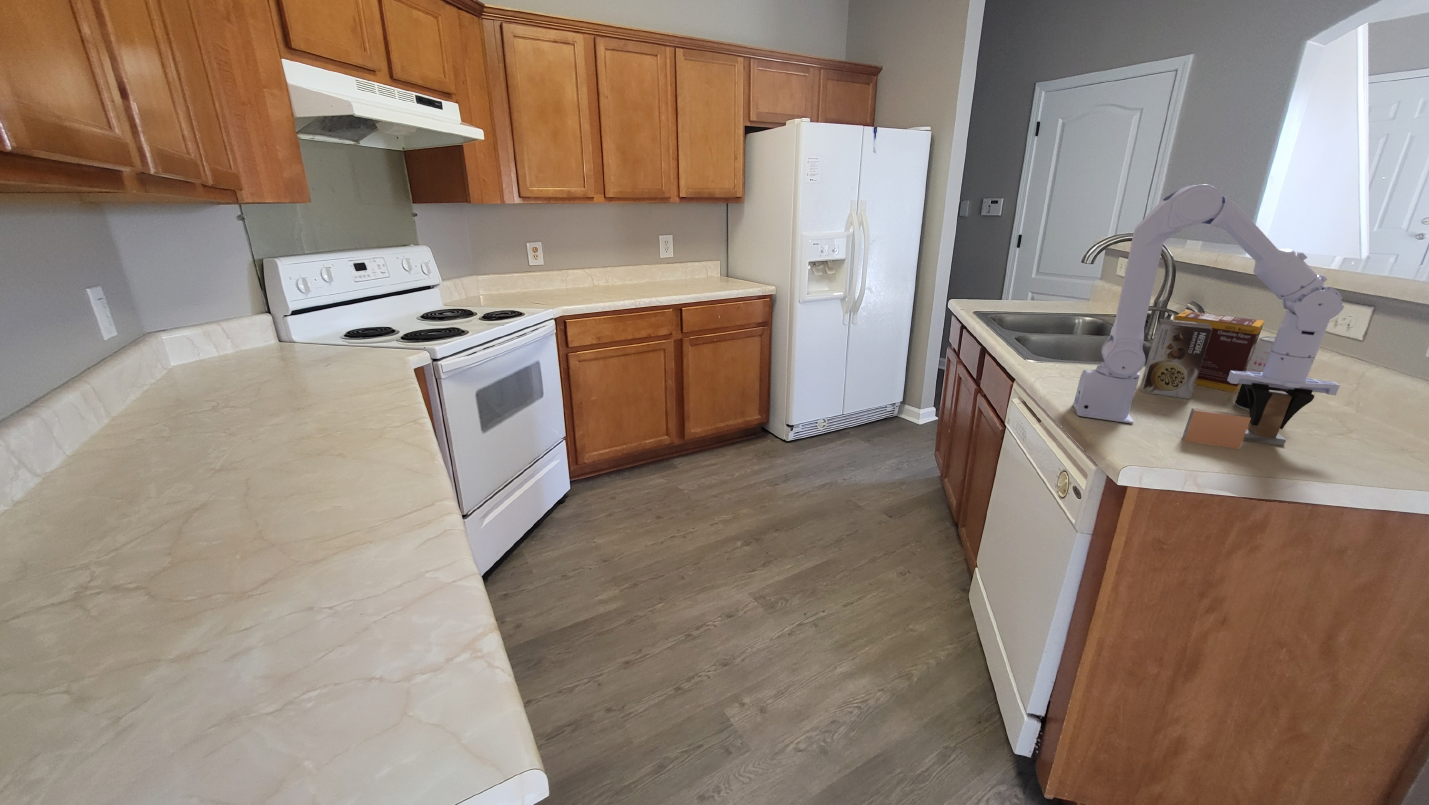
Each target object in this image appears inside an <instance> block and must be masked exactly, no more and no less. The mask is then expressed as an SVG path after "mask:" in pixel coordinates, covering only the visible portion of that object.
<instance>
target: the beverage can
mask: <svg viewBox="0 0 1429 805" xmlns="http://www.w3.org/2000/svg"><path fill="white" fill-rule="evenodd" d="M1275 338H1276V336H1272V335H1262V336H1259V338H1258V340H1257V342H1256V345H1255V348H1254V351H1253V354H1252V356H1251V359H1250V362H1249V364H1248V367H1247V370H1246V372H1263V370H1264V367H1265V364H1266V362H1267V359H1268V356H1269V354H1270V351H1271V348H1272V346H1273V343H1274V340H1275ZM1268 389H1270V390H1274V391H1282V392H1283V388H1276V387H1268ZM1234 404H1235V405H1236V406H1237V407H1238V408H1240V409H1242V410H1245V411H1248V412H1249V401H1248V395H1247V392H1246V388H1245V384H1241V385H1240V387H1239V389H1238V392H1237V395H1236V399H1235V401H1234Z"/></svg>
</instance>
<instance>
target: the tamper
mask: <svg viewBox="0 0 1429 805" xmlns="http://www.w3.org/2000/svg"><path fill="white" fill-rule="evenodd" d="M1269 391H1270V392H1271V393H1272V394H1273V395H1272V396H1271V398H1270V399H1269V401H1268V402H1267V404H1266V406H1265V408H1264V410H1263V413H1262V416H1261V419H1260V421H1259V423H1258V425H1257V426H1256V425H1252V424H1251V423H1249V425H1248V428H1247V430H1246V433H1245V436H1244V438H1243V441H1249V442H1255V443H1262V444H1269V445H1276V446H1283V447H1284V446H1285V444H1286V442H1287V438H1285V437H1284V436H1282V435H1281V434H1280V433H1279V430H1281V429H1280V426H1281V424H1282V421H1283V419H1284V416H1285V414H1286V411H1287V408H1288V406H1289V403H1290V401H1291V398H1292V396H1290V395H1289V394H1287V393H1286V392H1282V391H1274V390H1269Z"/></svg>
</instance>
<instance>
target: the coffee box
mask: <svg viewBox="0 0 1429 805" xmlns="http://www.w3.org/2000/svg"><path fill="white" fill-rule="evenodd" d="M1211 332H1212V328H1211V326H1210V325H1209V324H1208V323H1199V322H1189V321H1179V320H1174V319H1165V318H1159V319H1158V321H1157V325H1156V329H1155V332H1154V335H1153V339H1152V342H1151V346H1150V350H1149V354H1148V355H1147V356H1148V357H1147V359H1146V360H1147V361H1146V362H1145V367H1144V371H1143V376H1142V378H1141V381H1140V384H1139V385H1140V390H1141V393H1146V394H1153V395H1161V396H1166V397H1171V398H1172V397H1174V398H1180V399H1185V400H1191V399H1192V396H1193V393H1194V391H1195V390H1194V389H1195V386H1196V385H1195V384H1196V380H1197V377H1198V374H1199V371H1200V367H1201V364H1202V361H1203V358H1204V355H1205V351H1206V348H1207V345H1208V342H1209V339H1210V335H1211Z"/></svg>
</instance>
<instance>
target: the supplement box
mask: <svg viewBox="0 0 1429 805" xmlns="http://www.w3.org/2000/svg"><path fill="white" fill-rule="evenodd" d="M1173 320H1179V321H1189V322H1199V323H1208V324H1209V325H1210V326H1211V328H1212V332H1211V335H1210V339H1209V342H1208V345H1207V348H1206V351H1205V355H1204V358H1203V361H1202V364H1201V367H1200V371H1199V374H1198V377H1197V380H1196V384H1195V386H1199V387H1204V388H1209V389H1216V390H1220V391H1225V392H1229V393H1236V392H1237V391H1238V390H1239V389H1240V387H1241V383H1238V384H1233V383H1230V382H1229V381H1227V379H1228V376H1229V373H1230V371H1242V372H1246V370H1247V367H1248V365H1249V362H1250V359H1251V356H1252V354H1253V351H1254V348H1255V345H1256V342H1257V340H1258V339H1260V334H1261V332H1262V329H1263V326H1264V323H1265V320H1261V319H1254V318H1253V319H1252V318H1245V317H1237V316H1230V315H1223V314H1222V315H1221V314H1214V313H1208V312H1207V313H1205V312H1199V311H1191V310H1184V311H1182V312H1180V313H1179V314H1176V315H1175V316H1174V319H1173Z"/></svg>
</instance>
